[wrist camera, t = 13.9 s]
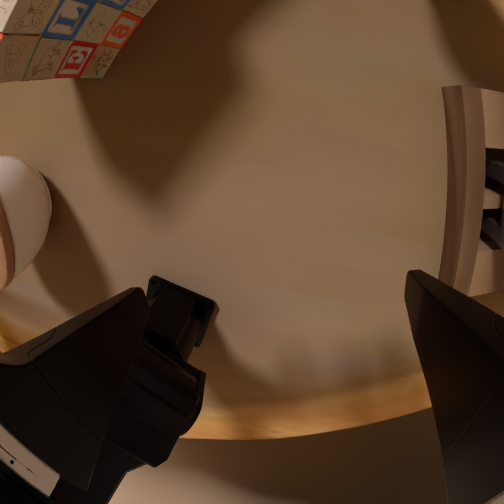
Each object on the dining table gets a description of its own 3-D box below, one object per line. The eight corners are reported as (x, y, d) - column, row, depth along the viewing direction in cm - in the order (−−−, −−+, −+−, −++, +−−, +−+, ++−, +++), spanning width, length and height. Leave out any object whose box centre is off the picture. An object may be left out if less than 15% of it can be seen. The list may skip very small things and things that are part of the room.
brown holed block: (438, 280, 22) (450, 299, 19) (442, 87, 15) (461, 85, 12) (515, 268, 19) (530, 284, 17) (528, 102, 13) (549, 105, 10)
